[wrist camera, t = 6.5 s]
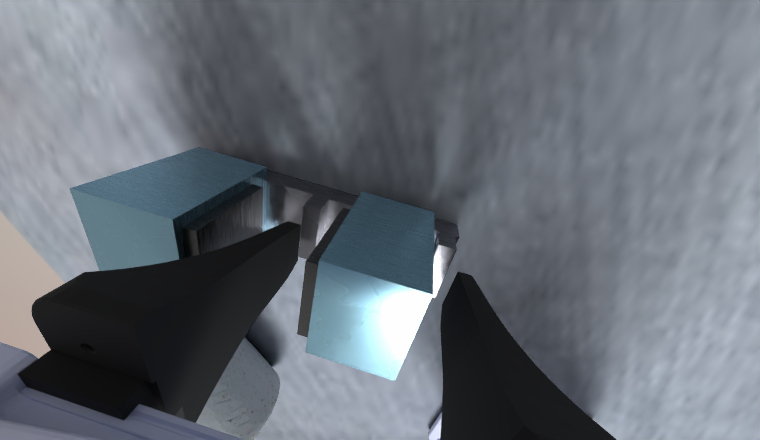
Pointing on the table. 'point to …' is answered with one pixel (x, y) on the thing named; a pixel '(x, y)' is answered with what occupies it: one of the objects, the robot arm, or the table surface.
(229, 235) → the rail
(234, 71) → the table surface
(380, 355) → the teal brushed-finish brick
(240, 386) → the ceramic mug
